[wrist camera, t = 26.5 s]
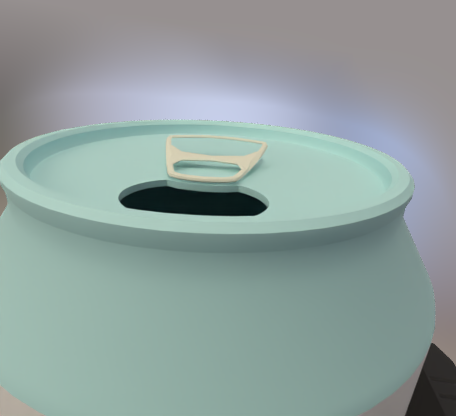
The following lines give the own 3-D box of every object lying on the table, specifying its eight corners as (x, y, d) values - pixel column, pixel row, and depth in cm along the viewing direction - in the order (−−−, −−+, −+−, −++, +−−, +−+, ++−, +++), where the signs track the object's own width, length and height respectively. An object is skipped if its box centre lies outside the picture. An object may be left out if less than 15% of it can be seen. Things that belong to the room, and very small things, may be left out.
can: (379, 614, 9) (586, 180, 4) (102, 946, 5) (-322, 512, 1) (235, 402, 14) (260, 110, 10) (51, 499, 11) (-44, 116, 6)
